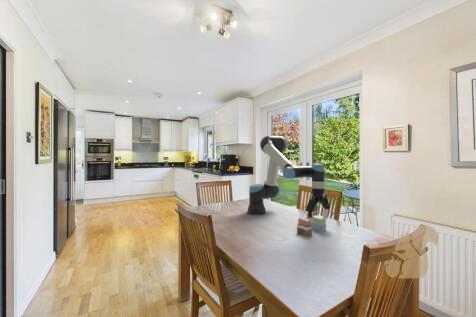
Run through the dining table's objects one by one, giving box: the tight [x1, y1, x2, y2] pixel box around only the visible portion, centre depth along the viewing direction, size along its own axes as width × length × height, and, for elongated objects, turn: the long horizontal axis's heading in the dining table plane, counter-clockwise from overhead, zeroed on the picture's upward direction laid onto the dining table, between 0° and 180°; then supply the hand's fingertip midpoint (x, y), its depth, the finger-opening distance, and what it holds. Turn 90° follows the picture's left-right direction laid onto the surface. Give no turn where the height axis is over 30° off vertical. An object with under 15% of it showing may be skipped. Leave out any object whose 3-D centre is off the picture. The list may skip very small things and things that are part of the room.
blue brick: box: [310, 223, 327, 233], centre depth 140 cm, size 8×4×4 cm, turn 40°
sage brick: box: [313, 215, 327, 226], centre depth 140 cm, size 8×4×4 cm, turn 30°
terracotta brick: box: [297, 217, 311, 228], centre depth 150 cm, size 8×4×4 cm, turn 31°
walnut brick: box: [296, 225, 313, 238], centre depth 132 cm, size 8×4×4 cm, turn 31°
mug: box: [302, 203, 320, 219], centre depth 161 cm, size 12×9×11 cm
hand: (318, 220), depth 140 cm, fingers open, 13 cm apart
